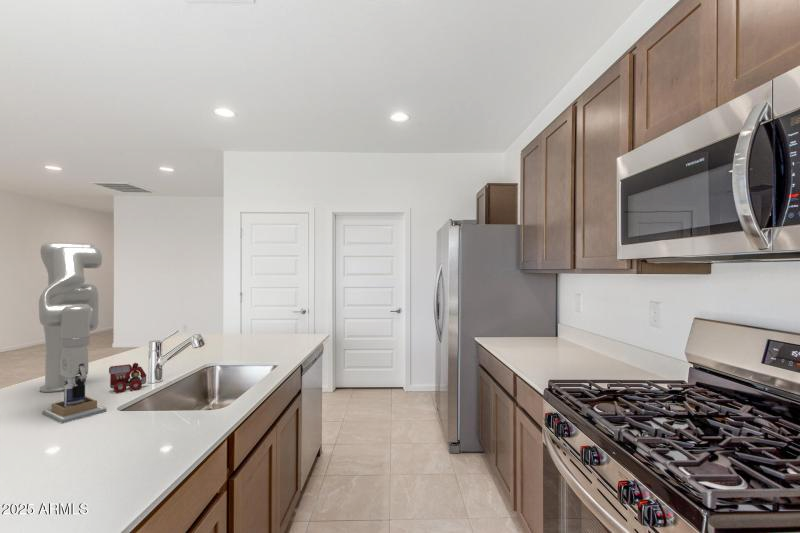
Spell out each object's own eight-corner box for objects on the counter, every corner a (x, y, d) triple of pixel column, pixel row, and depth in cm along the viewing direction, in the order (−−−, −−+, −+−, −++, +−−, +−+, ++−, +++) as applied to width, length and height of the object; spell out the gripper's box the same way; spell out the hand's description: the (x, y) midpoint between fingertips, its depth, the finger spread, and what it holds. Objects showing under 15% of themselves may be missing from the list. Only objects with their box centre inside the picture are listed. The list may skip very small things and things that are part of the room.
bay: (42, 413, 128) (42, 403, 128) (85, 403, 138) (85, 393, 138) (61, 423, 120) (62, 412, 120) (106, 411, 130) (106, 401, 130)
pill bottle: (88, 403, 131) (89, 375, 131) (70, 409, 126) (71, 379, 126) (78, 402, 133) (78, 374, 133) (60, 407, 128) (60, 378, 128)
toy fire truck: (147, 388, 156) (147, 363, 156) (109, 394, 148) (109, 368, 148) (145, 384, 161) (145, 360, 162) (108, 390, 154) (108, 364, 154)
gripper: (51, 341, 131) (50, 394, 131) (72, 347, 122) (71, 403, 122) (78, 338, 137) (77, 388, 137) (100, 343, 129) (99, 397, 128)
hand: (74, 395), depth 129 cm, fingers closed on pill bottle, 5 cm apart
